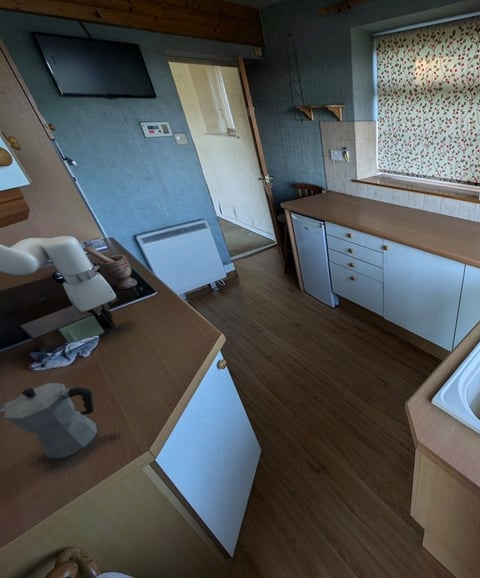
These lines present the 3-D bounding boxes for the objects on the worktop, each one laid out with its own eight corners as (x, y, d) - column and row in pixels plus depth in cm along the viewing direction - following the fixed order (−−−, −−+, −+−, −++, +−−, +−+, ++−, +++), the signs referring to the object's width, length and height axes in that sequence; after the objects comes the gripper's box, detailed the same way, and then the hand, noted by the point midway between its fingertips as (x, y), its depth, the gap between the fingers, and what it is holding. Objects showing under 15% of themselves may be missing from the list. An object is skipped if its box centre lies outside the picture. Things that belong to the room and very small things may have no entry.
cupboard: (52, 359, 92) (36, 340, 88) (35, 344, 98) (20, 325, 94) (119, 328, 105) (108, 310, 101) (100, 316, 111) (89, 298, 107)
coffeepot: (25, 469, 64) (-35, 419, 55) (49, 432, 72) (-1, 382, 62) (111, 445, 69) (69, 395, 60) (125, 412, 76) (89, 363, 67)
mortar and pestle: (106, 295, 124) (81, 251, 113) (105, 286, 129) (81, 245, 119) (139, 286, 130) (118, 244, 120) (137, 278, 136) (117, 238, 125)
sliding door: (72, 347, 95) (60, 331, 92) (70, 345, 96) (58, 329, 92) (105, 332, 102) (94, 316, 98) (102, 330, 103) (92, 314, 99)
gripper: (102, 263, 100) (127, 307, 109) (43, 282, 89) (76, 329, 98) (113, 268, 97) (137, 313, 106) (53, 289, 86) (86, 336, 95)
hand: (108, 320), depth 102 cm, fingers closed
